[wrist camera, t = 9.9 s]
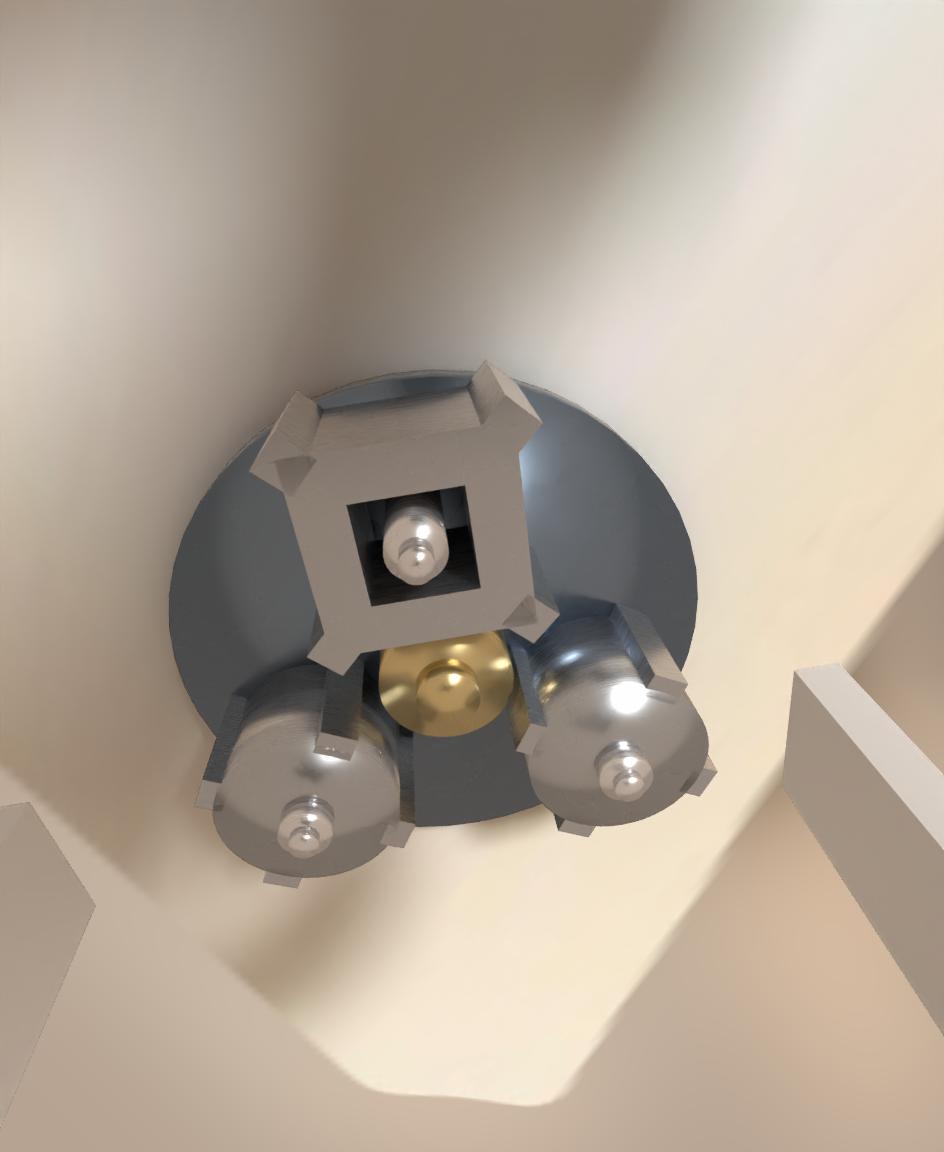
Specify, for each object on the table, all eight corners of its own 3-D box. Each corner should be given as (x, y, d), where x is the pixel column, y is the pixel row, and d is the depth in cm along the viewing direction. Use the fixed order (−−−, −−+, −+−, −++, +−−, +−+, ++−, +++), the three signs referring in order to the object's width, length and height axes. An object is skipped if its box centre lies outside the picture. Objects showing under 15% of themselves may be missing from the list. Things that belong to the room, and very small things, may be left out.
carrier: (249, 271, 23) (187, 300, 16) (786, 485, 29) (905, 572, 22) (134, 753, 32) (63, 899, 25) (559, 843, 38) (595, 983, 31)
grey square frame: (267, 394, 24) (238, 438, 19) (513, 355, 24) (539, 389, 20) (327, 605, 28) (313, 680, 24) (536, 570, 28) (562, 638, 24)
